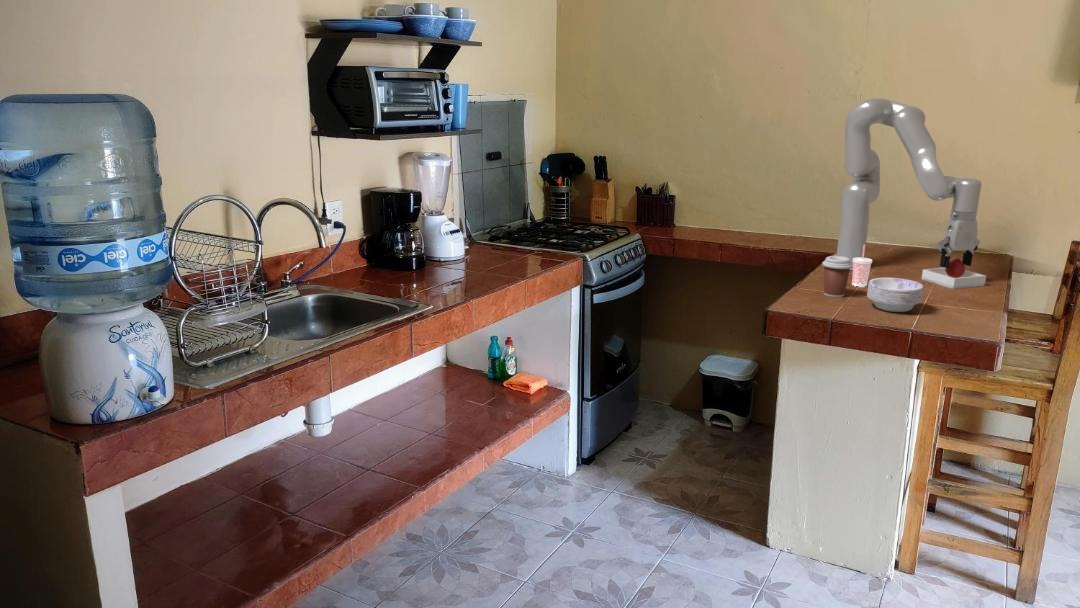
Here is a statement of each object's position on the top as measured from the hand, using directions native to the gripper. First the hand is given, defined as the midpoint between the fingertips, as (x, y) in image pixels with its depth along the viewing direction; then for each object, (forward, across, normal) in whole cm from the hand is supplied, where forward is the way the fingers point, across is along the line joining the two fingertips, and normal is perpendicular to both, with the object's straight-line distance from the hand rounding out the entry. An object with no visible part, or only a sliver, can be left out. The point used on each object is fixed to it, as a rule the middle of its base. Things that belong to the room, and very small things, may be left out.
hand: (955, 266), depth 263 cm
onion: (+5, 0, 0) cm, 5 cm away
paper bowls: (+6, -42, -18) cm, 47 cm away
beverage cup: (+6, -34, +6) cm, 35 cm away
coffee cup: (+6, -50, 0) cm, 50 cm away
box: (+6, 0, 0) cm, 6 cm away
